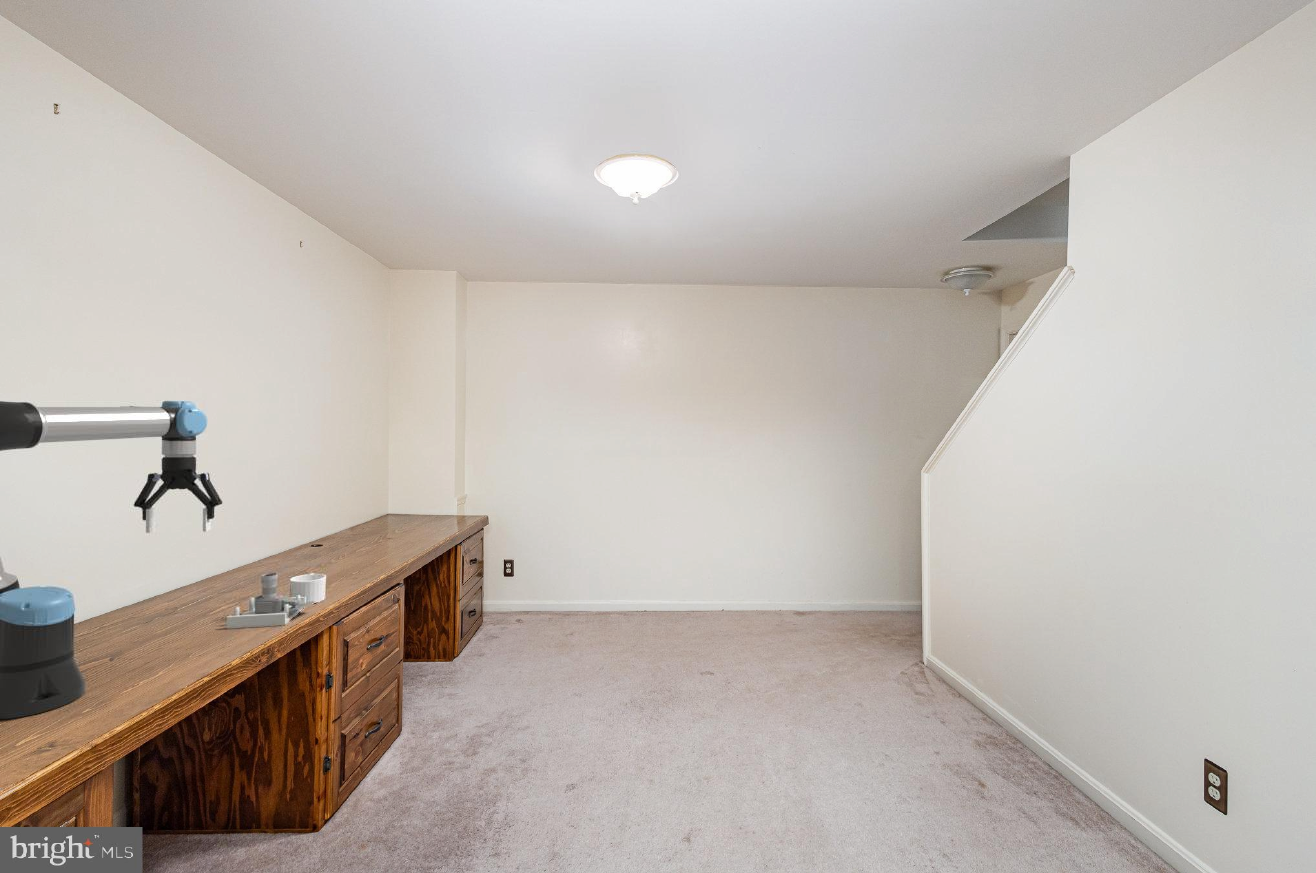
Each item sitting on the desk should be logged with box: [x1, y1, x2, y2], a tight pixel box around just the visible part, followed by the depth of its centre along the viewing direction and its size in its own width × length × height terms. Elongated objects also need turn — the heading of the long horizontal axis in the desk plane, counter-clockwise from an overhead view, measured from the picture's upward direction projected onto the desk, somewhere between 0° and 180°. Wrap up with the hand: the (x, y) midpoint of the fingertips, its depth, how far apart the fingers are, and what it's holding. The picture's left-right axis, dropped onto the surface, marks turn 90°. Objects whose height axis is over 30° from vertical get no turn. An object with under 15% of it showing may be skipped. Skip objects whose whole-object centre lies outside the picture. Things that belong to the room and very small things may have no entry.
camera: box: [254, 572, 315, 614], centre depth 182 cm, size 9×12×15 cm
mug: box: [289, 572, 327, 605], centre depth 198 cm, size 13×10×8 cm
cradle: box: [226, 595, 306, 630], centre depth 180 cm, size 18×15×5 cm
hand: (178, 531), depth 166 cm, fingers open, 13 cm apart
